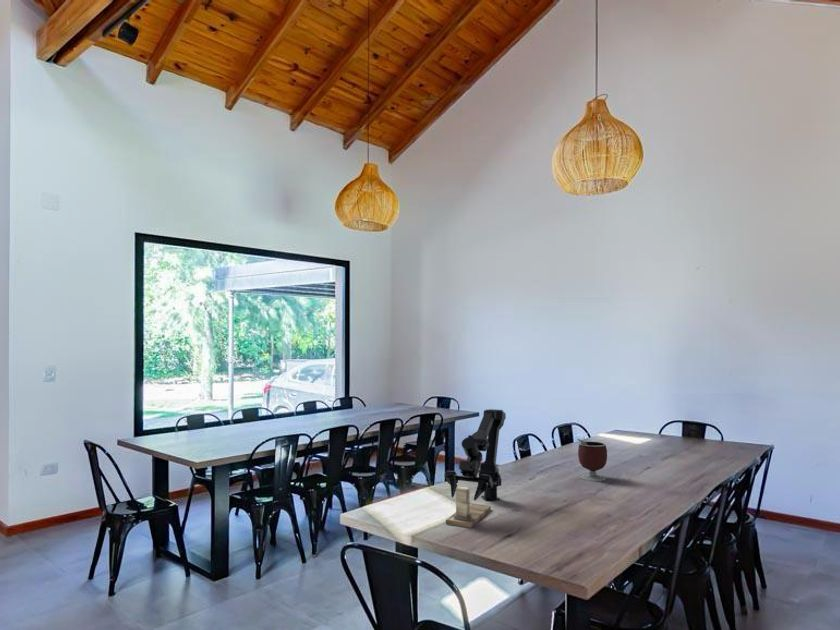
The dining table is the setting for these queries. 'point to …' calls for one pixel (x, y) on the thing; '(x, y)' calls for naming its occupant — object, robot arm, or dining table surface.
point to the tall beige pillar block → (462, 503)
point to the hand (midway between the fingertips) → (463, 498)
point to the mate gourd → (592, 458)
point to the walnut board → (476, 515)
